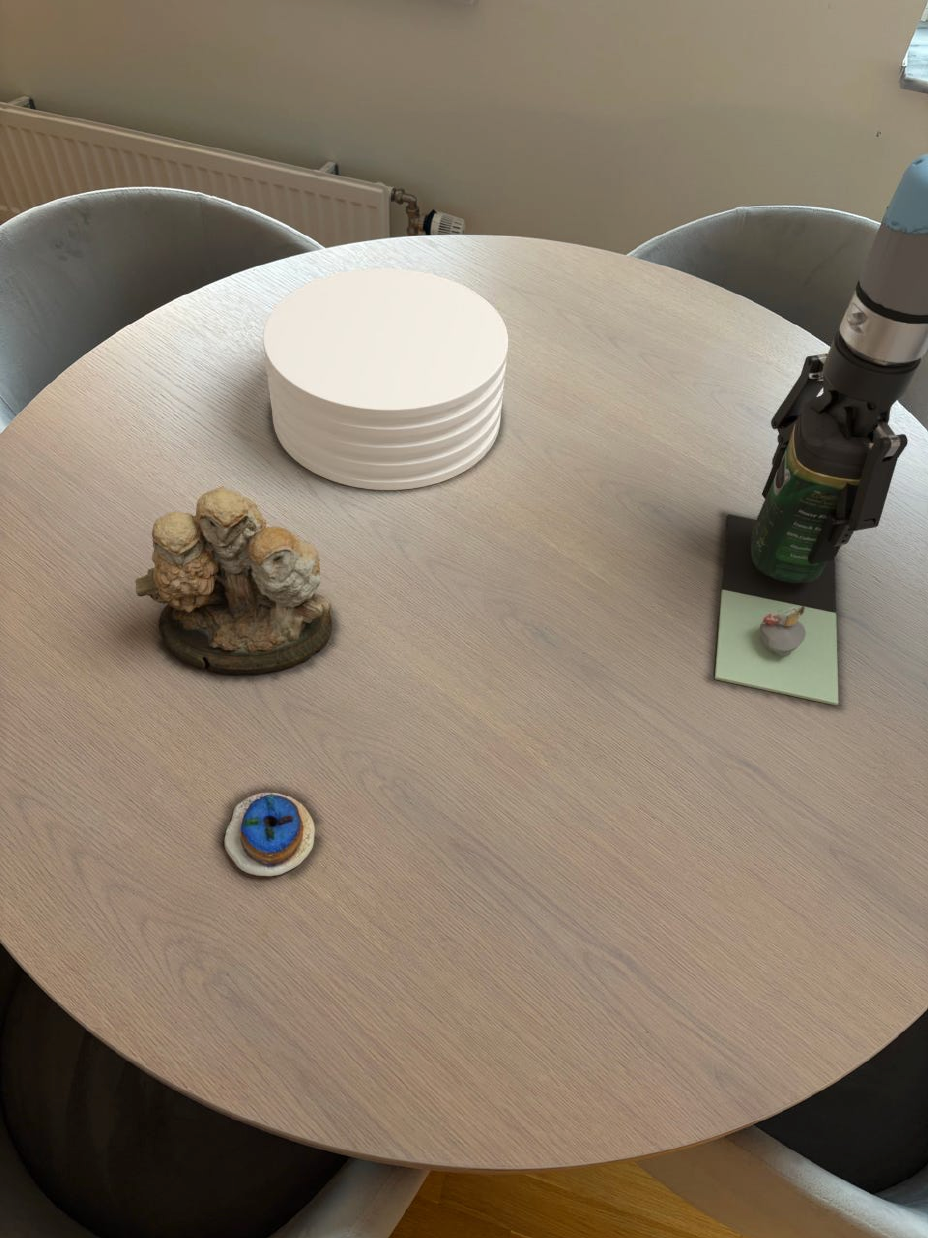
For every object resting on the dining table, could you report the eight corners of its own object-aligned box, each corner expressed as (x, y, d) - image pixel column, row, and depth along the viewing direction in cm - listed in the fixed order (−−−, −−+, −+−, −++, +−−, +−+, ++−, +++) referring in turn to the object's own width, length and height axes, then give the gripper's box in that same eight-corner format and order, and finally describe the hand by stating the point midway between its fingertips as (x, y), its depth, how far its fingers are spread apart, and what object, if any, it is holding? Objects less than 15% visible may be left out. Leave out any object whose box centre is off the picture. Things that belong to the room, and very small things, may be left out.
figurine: (787, 669, 95) (807, 631, 90) (746, 648, 96) (764, 610, 92) (806, 635, 98) (826, 597, 93) (766, 616, 99) (784, 578, 95)
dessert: (325, 864, 78) (277, 841, 74) (265, 899, 80) (215, 879, 76) (313, 784, 84) (267, 759, 80) (257, 819, 86) (209, 796, 81)
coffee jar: (822, 593, 100) (893, 457, 86) (747, 578, 101) (804, 440, 86) (821, 530, 106) (886, 394, 92) (749, 517, 107) (803, 379, 93)
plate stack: (459, 334, 129) (463, 256, 121) (532, 466, 113) (544, 387, 104) (253, 364, 123) (242, 283, 114) (299, 509, 106) (291, 428, 97)
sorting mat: (837, 706, 93) (838, 703, 92) (714, 679, 94) (715, 676, 94) (832, 537, 108) (834, 535, 108) (727, 516, 109) (728, 514, 109)
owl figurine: (142, 678, 90) (98, 554, 77) (159, 585, 98) (122, 458, 85) (332, 674, 92) (322, 552, 79) (335, 583, 99) (325, 458, 86)
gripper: (781, 280, 89) (718, 464, 106) (914, 427, 76) (818, 609, 93) (851, 272, 90) (778, 454, 108) (993, 414, 77) (883, 595, 94)
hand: (796, 526), depth 100 cm, fingers closed on coffee jar, 9 cm apart
